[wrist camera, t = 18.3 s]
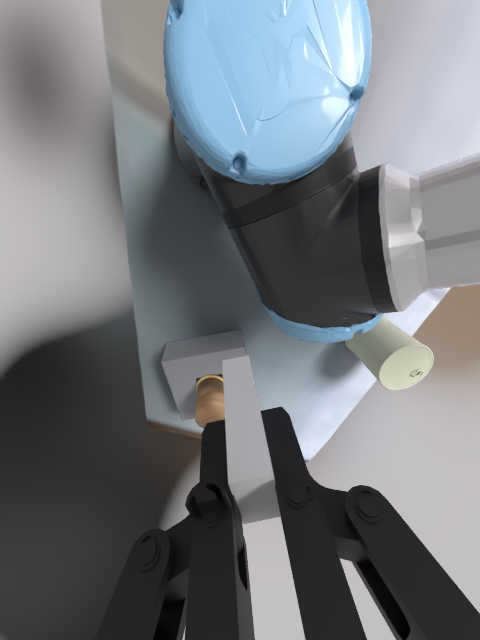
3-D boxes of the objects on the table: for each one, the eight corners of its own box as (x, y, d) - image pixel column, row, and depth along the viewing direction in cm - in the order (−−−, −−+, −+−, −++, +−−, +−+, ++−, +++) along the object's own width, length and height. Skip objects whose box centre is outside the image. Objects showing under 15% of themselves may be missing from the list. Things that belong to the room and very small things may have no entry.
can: (371, 356, 53) (412, 397, 42) (335, 346, 51) (369, 386, 40) (397, 319, 49) (448, 354, 39) (359, 306, 47) (403, 339, 37)
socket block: (240, 329, 46) (244, 346, 41) (249, 385, 53) (254, 406, 48) (166, 342, 46) (160, 361, 41) (184, 397, 52) (181, 420, 47)
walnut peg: (222, 352, 48) (226, 401, 37) (226, 373, 51) (231, 426, 39) (194, 357, 48) (190, 408, 37) (200, 378, 51) (198, 432, 39)
